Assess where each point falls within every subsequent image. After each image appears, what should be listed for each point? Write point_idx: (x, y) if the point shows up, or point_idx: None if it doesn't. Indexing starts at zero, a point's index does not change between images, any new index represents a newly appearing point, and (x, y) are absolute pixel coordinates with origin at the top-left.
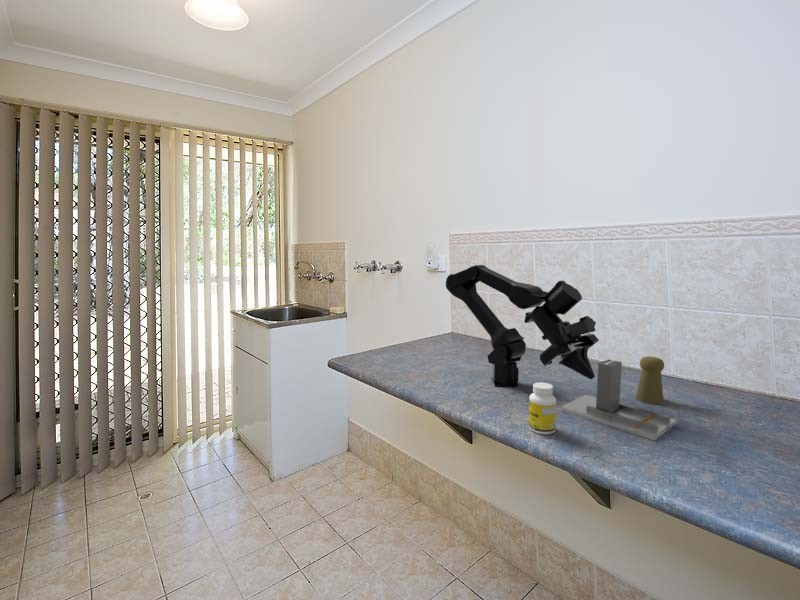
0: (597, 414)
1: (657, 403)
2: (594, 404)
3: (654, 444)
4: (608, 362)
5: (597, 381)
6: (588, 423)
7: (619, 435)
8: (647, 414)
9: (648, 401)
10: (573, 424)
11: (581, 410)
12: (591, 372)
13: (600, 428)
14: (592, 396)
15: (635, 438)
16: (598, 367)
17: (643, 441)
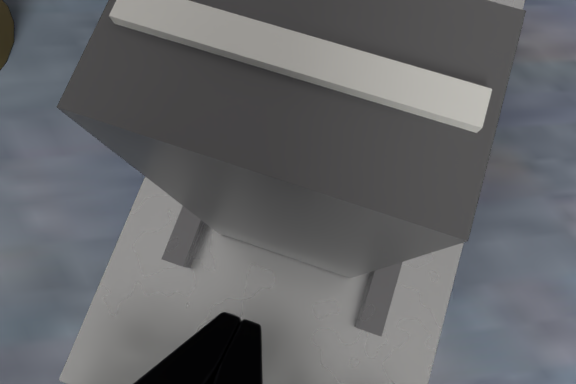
0: (405, 262)
1: (4, 3)
2: (236, 300)
3: (555, 8)
4: (348, 72)
5: (390, 265)
6: (497, 300)
7: (555, 142)
8: None
9: (3, 37)
10: (568, 378)
11: (394, 363)
12: (237, 358)
13: (526, 233)
14: (79, 333)
15: (542, 77)
16: (437, 244)
17: (553, 47)
